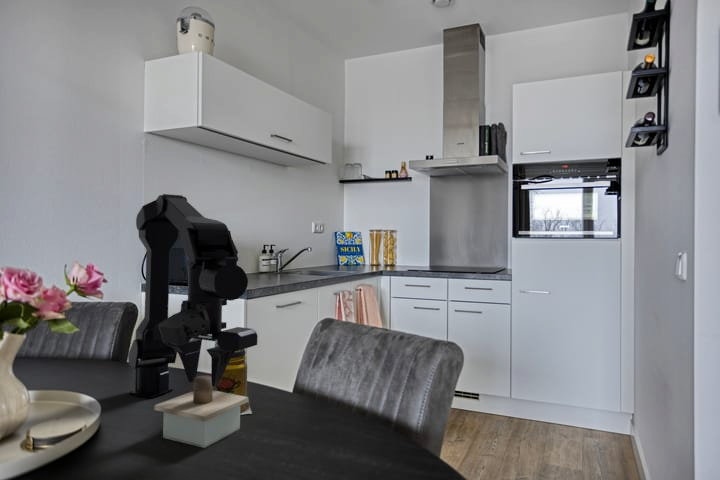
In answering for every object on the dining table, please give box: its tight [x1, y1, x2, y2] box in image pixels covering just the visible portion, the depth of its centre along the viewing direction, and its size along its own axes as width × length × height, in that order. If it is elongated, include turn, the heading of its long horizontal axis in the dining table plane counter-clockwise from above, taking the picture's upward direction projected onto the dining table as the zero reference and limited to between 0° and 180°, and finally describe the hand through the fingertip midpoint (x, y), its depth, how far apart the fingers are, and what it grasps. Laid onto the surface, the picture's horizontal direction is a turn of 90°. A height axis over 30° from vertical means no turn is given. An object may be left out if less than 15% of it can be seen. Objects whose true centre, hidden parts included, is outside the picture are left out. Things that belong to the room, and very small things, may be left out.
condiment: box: [214, 349, 253, 416], centre depth 98 cm, size 7×8×12 cm
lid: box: [154, 375, 249, 422], centre depth 85 cm, size 11×11×5 cm
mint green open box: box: [162, 406, 241, 449], centre depth 85 cm, size 9×9×5 cm
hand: (203, 383), depth 85 cm, fingers open, 5 cm apart
